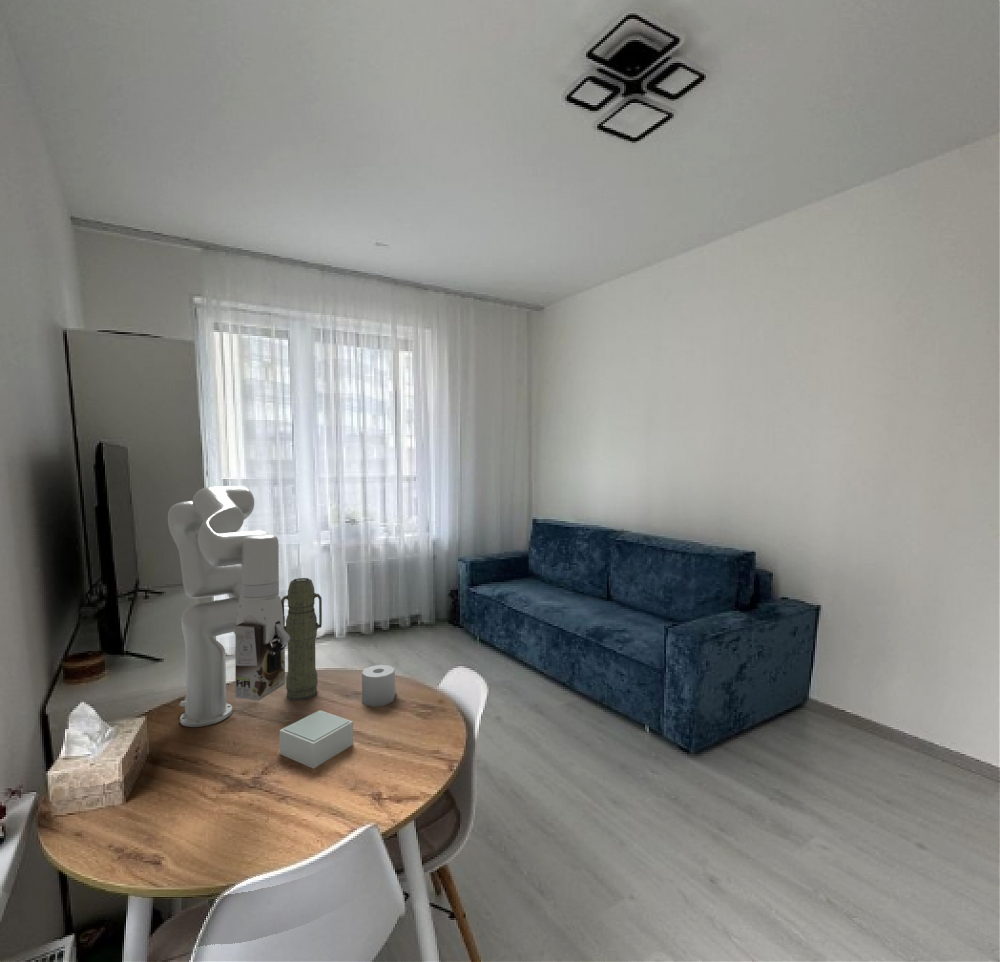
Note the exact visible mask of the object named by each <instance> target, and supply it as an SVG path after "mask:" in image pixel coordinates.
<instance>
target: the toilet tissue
mask: <svg viewBox="0 0 1000 962" xmlns="http://www.w3.org/2000/svg"><path fill="white" fill-rule="evenodd" d="M396 690H397V689H396V671H395V667H392V665H387V664H386V665H385V664H376V665H371V666H369V667H366V668H364V669H363V670H362V672H361V694H362V695H361V700H362V701H361V702H362V704H364V705H366V707H376V708H377V707H382V706H387V705H388V704H391V703H392V702H394V700H395V698H396V697H395V696H396V695H397V694H396V693H397V691H396Z"/></svg>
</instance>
